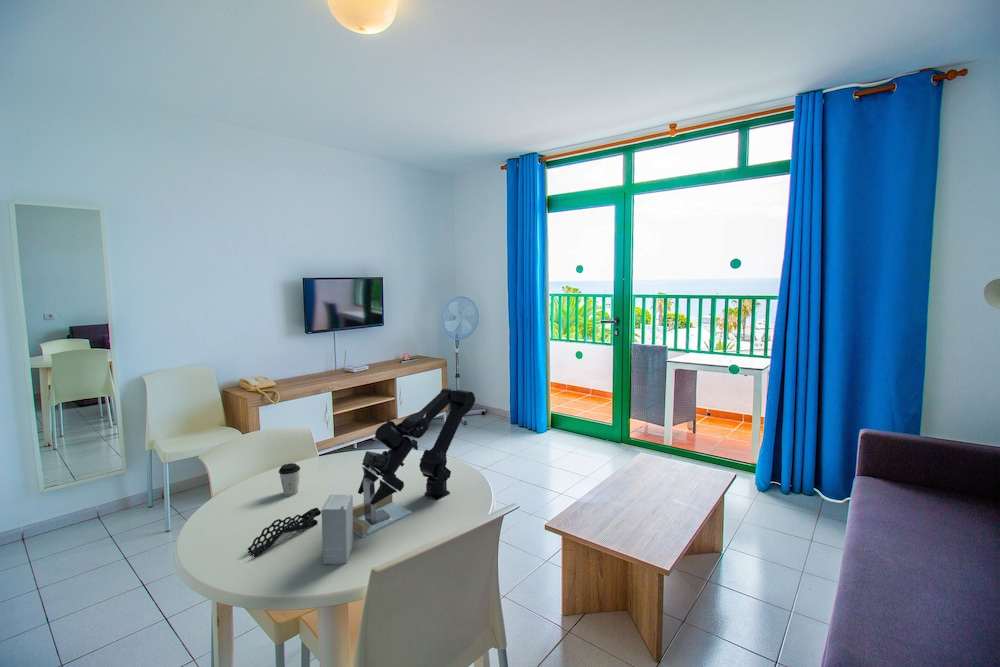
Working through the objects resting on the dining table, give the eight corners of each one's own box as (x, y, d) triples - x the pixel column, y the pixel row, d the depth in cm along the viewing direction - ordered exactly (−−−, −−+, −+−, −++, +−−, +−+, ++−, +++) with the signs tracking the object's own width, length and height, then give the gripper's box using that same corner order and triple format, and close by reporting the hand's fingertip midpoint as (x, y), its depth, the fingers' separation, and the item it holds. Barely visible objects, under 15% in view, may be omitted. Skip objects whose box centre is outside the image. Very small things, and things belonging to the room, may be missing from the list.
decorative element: (257, 560, 124) (255, 540, 123) (245, 555, 127) (244, 535, 126) (325, 522, 144) (324, 504, 143) (313, 518, 146) (312, 500, 145)
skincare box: (330, 547, 129) (327, 493, 127) (356, 546, 130) (353, 492, 128) (321, 566, 121) (317, 508, 119) (349, 564, 121) (346, 507, 119)
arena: (389, 502, 155) (389, 491, 155) (412, 513, 147) (411, 502, 147) (340, 523, 142) (340, 512, 141) (362, 537, 134) (362, 525, 133)
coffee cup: (305, 488, 166) (303, 462, 165) (295, 498, 159) (293, 470, 158) (287, 488, 167) (285, 461, 166) (276, 497, 160) (274, 469, 159)
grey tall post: (382, 512, 147) (381, 473, 145) (390, 518, 143) (388, 478, 141) (364, 519, 143) (362, 478, 142) (371, 525, 139) (369, 484, 138)
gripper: (366, 433, 148) (334, 476, 143) (392, 449, 134) (357, 497, 128) (390, 451, 154) (360, 492, 149) (417, 468, 140) (385, 514, 134)
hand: (365, 498), depth 140 cm, fingers open, 9 cm apart
